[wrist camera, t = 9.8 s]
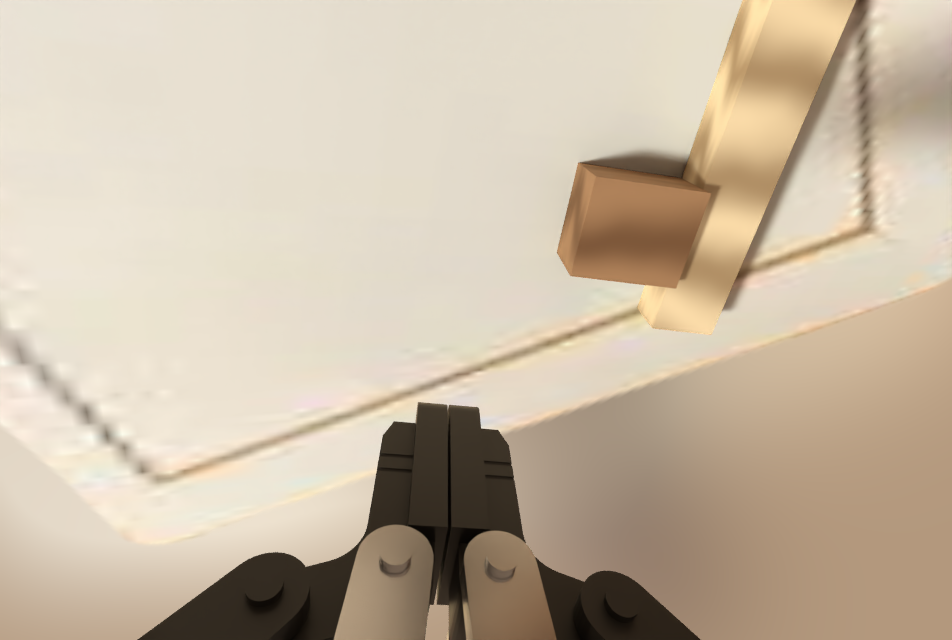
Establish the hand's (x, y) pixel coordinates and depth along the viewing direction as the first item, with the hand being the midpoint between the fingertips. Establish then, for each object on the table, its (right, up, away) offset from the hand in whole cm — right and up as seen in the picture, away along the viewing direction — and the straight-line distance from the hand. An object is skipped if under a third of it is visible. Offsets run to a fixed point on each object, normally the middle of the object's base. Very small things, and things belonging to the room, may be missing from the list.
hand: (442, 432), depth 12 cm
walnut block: (+12, +11, +26) cm, 30 cm away
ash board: (+19, +14, +24) cm, 34 cm away
